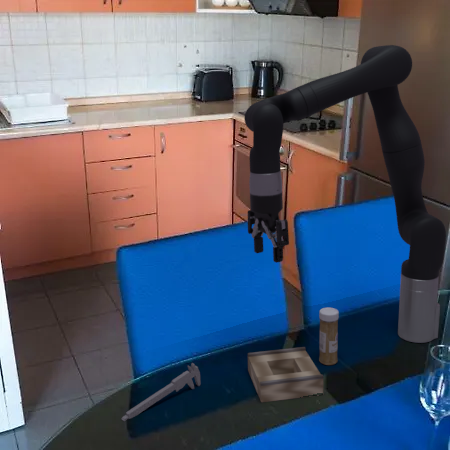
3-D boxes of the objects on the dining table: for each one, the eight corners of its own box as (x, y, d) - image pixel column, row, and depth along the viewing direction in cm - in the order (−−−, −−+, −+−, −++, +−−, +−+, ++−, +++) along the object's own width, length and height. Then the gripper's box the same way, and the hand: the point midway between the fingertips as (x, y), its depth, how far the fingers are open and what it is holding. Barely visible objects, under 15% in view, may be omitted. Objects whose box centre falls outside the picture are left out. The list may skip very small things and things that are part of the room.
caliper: (197, 384, 137) (196, 360, 135) (200, 386, 136) (199, 362, 134) (121, 420, 124) (118, 394, 122) (124, 422, 123) (121, 396, 121)
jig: (304, 363, 144) (304, 346, 142) (323, 394, 130) (323, 376, 129) (248, 370, 142) (247, 353, 140) (261, 402, 128) (260, 383, 127)
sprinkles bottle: (338, 366, 142) (339, 314, 138) (319, 365, 143) (319, 314, 139) (336, 356, 147) (337, 306, 143) (318, 356, 147) (318, 306, 143)
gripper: (297, 193, 132) (298, 261, 137) (263, 183, 144) (265, 246, 149) (268, 198, 129) (271, 268, 133) (236, 188, 141) (239, 252, 145)
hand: (268, 256), depth 141 cm, fingers open, 8 cm apart
